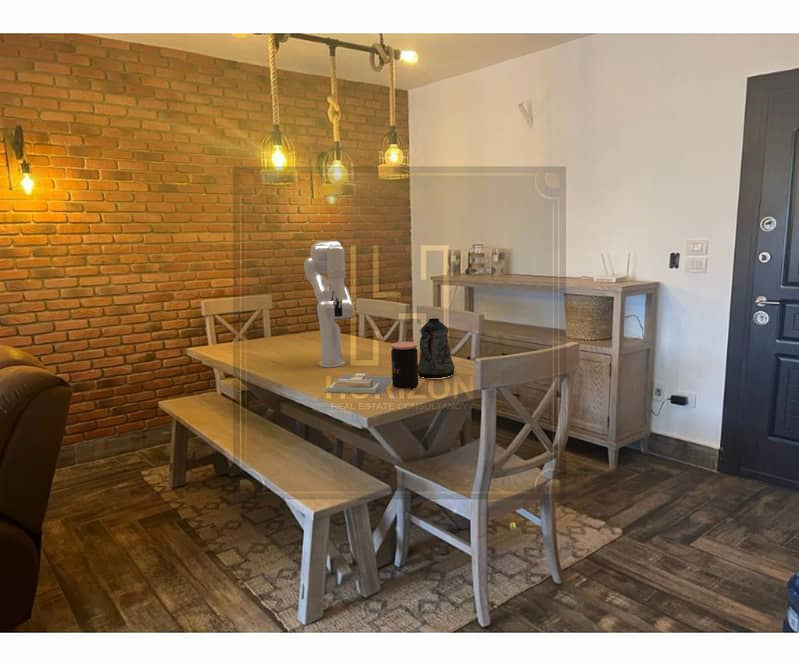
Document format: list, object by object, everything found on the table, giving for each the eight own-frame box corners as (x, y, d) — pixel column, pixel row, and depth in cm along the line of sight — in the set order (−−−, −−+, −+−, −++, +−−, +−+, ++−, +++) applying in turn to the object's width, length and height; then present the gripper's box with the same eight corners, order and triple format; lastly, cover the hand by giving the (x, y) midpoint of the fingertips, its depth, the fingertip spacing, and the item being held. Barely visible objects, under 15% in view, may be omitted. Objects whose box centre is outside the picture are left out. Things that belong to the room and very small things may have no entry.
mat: (341, 377, 257) (341, 371, 256) (394, 378, 252) (394, 372, 251) (322, 394, 232) (322, 387, 231) (381, 396, 227) (380, 389, 226)
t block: (345, 382, 245) (345, 373, 244) (377, 383, 242) (377, 373, 242) (336, 391, 232) (335, 382, 231) (370, 392, 229) (369, 382, 229)
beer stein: (453, 369, 264) (452, 315, 260) (456, 381, 245) (455, 322, 241) (417, 370, 265) (415, 316, 260) (417, 382, 246) (415, 323, 241)
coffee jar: (391, 384, 244) (390, 342, 240) (417, 382, 244) (415, 341, 241) (393, 391, 233) (391, 347, 230) (419, 390, 234) (418, 346, 231)
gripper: (333, 273, 261) (335, 313, 265) (323, 276, 247) (325, 319, 250) (349, 272, 260) (351, 313, 263) (340, 276, 245) (342, 319, 249)
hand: (338, 316), depth 257 cm, fingers closed
